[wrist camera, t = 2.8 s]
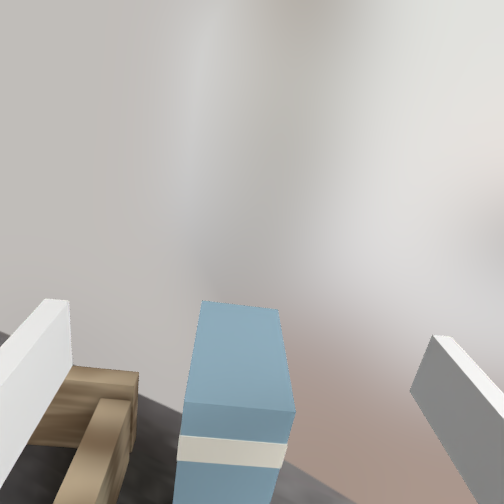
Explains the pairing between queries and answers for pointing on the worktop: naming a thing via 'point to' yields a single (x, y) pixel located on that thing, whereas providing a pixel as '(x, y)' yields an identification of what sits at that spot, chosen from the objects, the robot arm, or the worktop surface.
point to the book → (234, 408)
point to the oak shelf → (92, 432)
